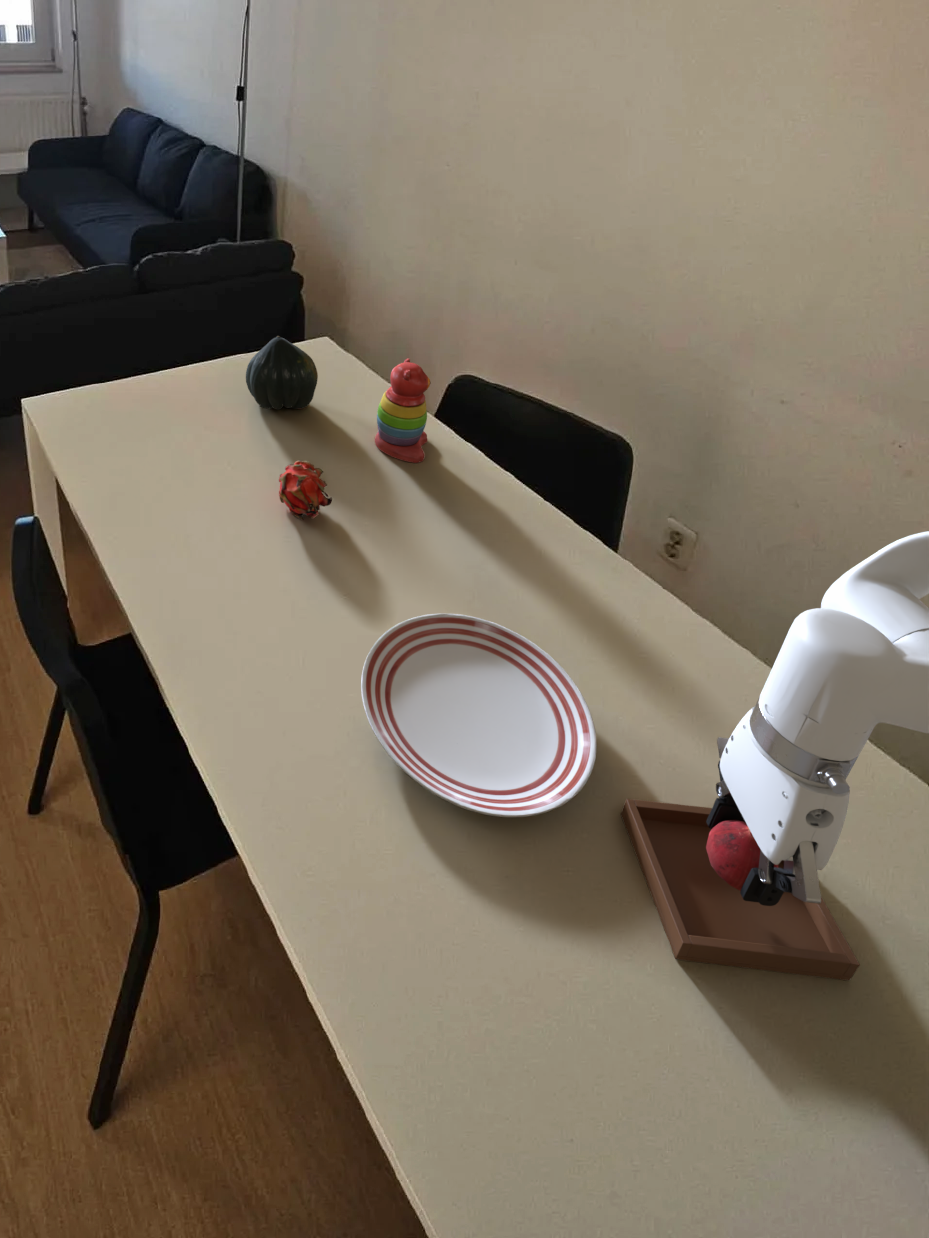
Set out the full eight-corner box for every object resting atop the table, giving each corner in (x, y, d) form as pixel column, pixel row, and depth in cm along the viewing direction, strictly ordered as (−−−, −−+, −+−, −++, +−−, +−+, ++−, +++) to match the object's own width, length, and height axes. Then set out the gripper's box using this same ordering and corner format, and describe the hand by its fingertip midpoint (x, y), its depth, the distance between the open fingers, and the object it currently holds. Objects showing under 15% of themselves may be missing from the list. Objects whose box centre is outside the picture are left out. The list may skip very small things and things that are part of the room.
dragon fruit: (294, 490, 137) (312, 542, 127) (259, 472, 133) (275, 525, 123) (326, 459, 134) (347, 510, 124) (291, 440, 130) (310, 491, 120)
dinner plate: (540, 890, 76) (547, 869, 75) (316, 723, 92) (318, 704, 91) (620, 711, 95) (626, 692, 94) (423, 599, 111) (426, 582, 110)
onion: (707, 901, 74) (732, 850, 71) (690, 842, 79) (712, 791, 76) (774, 919, 73) (802, 867, 70) (751, 857, 78) (777, 807, 75)
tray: (767, 830, 82) (775, 814, 81) (849, 980, 70) (860, 964, 69) (620, 813, 83) (626, 798, 82) (675, 959, 71) (683, 943, 70)
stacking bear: (423, 465, 143) (437, 382, 135) (369, 454, 145) (380, 372, 138) (427, 436, 152) (441, 357, 145) (377, 426, 155) (388, 348, 148)
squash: (309, 408, 150) (318, 335, 154) (235, 399, 153) (247, 328, 157) (314, 421, 163) (323, 354, 167) (246, 413, 166) (256, 347, 170)
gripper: (917, 841, 60) (834, 970, 67) (789, 661, 75) (733, 782, 83) (817, 830, 60) (746, 960, 67) (710, 653, 76) (662, 774, 83)
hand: (740, 860), depth 75 cm, fingers closed on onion, 5 cm apart
